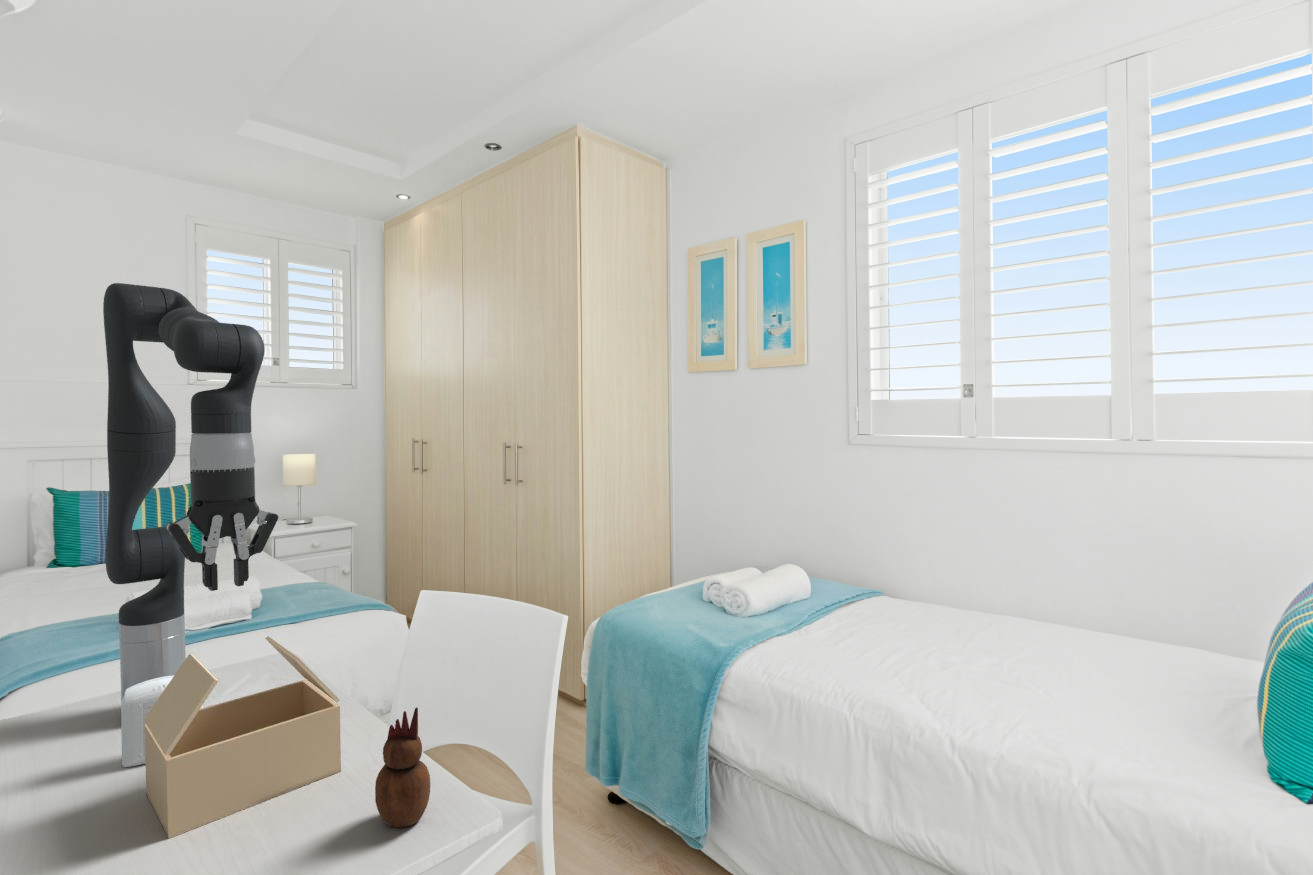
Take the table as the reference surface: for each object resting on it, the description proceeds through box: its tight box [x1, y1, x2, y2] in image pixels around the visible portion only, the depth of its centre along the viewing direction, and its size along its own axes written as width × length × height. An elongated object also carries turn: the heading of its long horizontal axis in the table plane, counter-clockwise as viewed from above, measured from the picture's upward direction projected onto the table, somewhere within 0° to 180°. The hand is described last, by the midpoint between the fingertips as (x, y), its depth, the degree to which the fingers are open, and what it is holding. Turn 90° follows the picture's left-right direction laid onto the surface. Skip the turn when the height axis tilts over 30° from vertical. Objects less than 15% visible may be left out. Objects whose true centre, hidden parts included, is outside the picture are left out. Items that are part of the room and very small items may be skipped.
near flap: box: [144, 653, 219, 755], centre depth 88 cm, size 14×10×1 cm
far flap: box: [264, 636, 341, 703], centre depth 99 cm, size 14×10×1 cm
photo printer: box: [120, 676, 204, 768], centre depth 101 cm, size 10×4×12 cm, turn 123°
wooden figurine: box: [374, 707, 431, 828], centre depth 85 cm, size 7×6×15 cm
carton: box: [144, 679, 342, 839], centre depth 94 cm, size 14×21×10 cm, turn 137°
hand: (225, 586), depth 92 cm, fingers open, 2 cm apart
